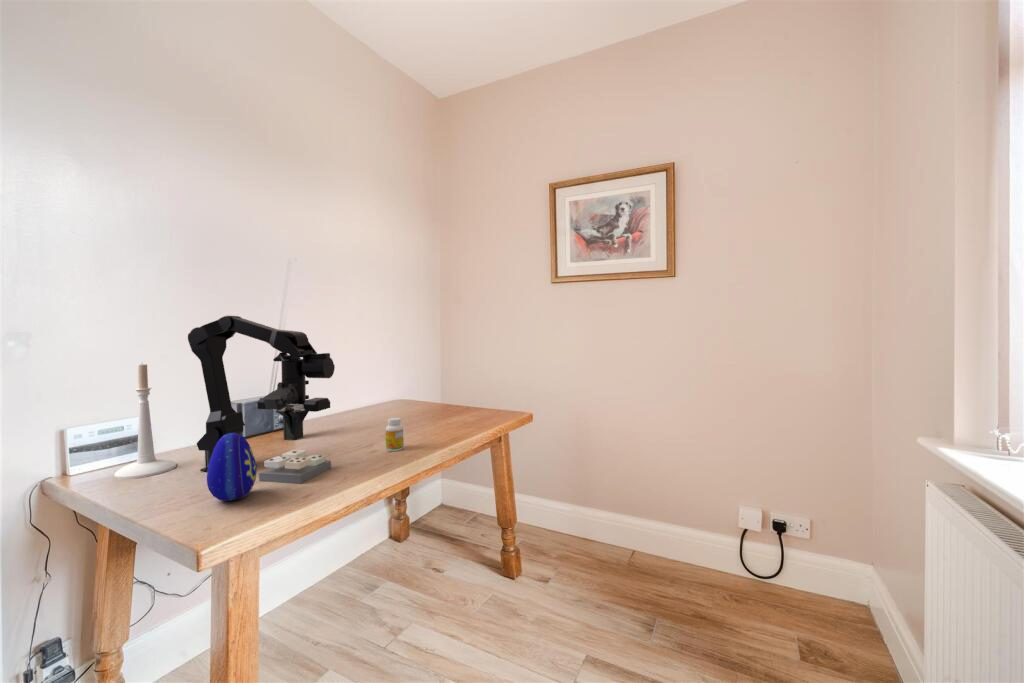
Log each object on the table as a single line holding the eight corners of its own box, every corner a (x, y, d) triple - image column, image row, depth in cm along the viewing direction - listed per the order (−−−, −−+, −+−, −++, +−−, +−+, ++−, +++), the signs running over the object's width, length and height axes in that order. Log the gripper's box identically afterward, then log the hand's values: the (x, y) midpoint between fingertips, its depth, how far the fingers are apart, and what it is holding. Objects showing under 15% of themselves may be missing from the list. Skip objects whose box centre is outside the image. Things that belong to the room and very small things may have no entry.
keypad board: (259, 480, 105) (258, 473, 105) (293, 465, 116) (293, 458, 116) (300, 483, 102) (300, 475, 102) (330, 467, 114) (330, 460, 114)
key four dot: (284, 468, 104) (284, 461, 104) (296, 462, 108) (296, 456, 108) (299, 469, 103) (299, 462, 103) (310, 463, 107) (310, 457, 107)
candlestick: (160, 476, 109) (156, 363, 108) (101, 481, 106) (96, 365, 105) (185, 461, 122) (181, 360, 121) (133, 465, 118) (129, 361, 118)
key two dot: (264, 467, 105) (264, 460, 105) (277, 461, 109) (276, 455, 109) (278, 467, 104) (278, 461, 104) (290, 462, 108) (290, 456, 108)
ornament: (250, 504, 90) (248, 436, 90) (200, 511, 87) (197, 441, 86) (261, 487, 100) (259, 426, 100) (217, 492, 97) (215, 429, 97)
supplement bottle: (382, 449, 131) (382, 419, 131) (397, 445, 135) (397, 416, 135) (391, 452, 127) (391, 421, 127) (406, 448, 131) (406, 418, 131)
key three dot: (301, 465, 110) (301, 459, 110) (312, 460, 114) (312, 454, 114) (315, 466, 109) (315, 459, 109) (325, 461, 113) (325, 455, 113)
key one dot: (282, 459, 111) (281, 453, 111) (293, 455, 115) (293, 449, 115) (295, 460, 110) (295, 454, 110) (306, 455, 114) (306, 449, 114)
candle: (282, 439, 145) (279, 368, 144) (292, 436, 150) (290, 367, 149) (295, 440, 144) (293, 369, 143) (304, 436, 149) (302, 367, 148)
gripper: (239, 380, 106) (240, 440, 106) (302, 382, 102) (303, 444, 103) (273, 375, 117) (273, 430, 117) (331, 377, 113) (331, 433, 114)
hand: (294, 434), depth 112 cm, fingers closed
